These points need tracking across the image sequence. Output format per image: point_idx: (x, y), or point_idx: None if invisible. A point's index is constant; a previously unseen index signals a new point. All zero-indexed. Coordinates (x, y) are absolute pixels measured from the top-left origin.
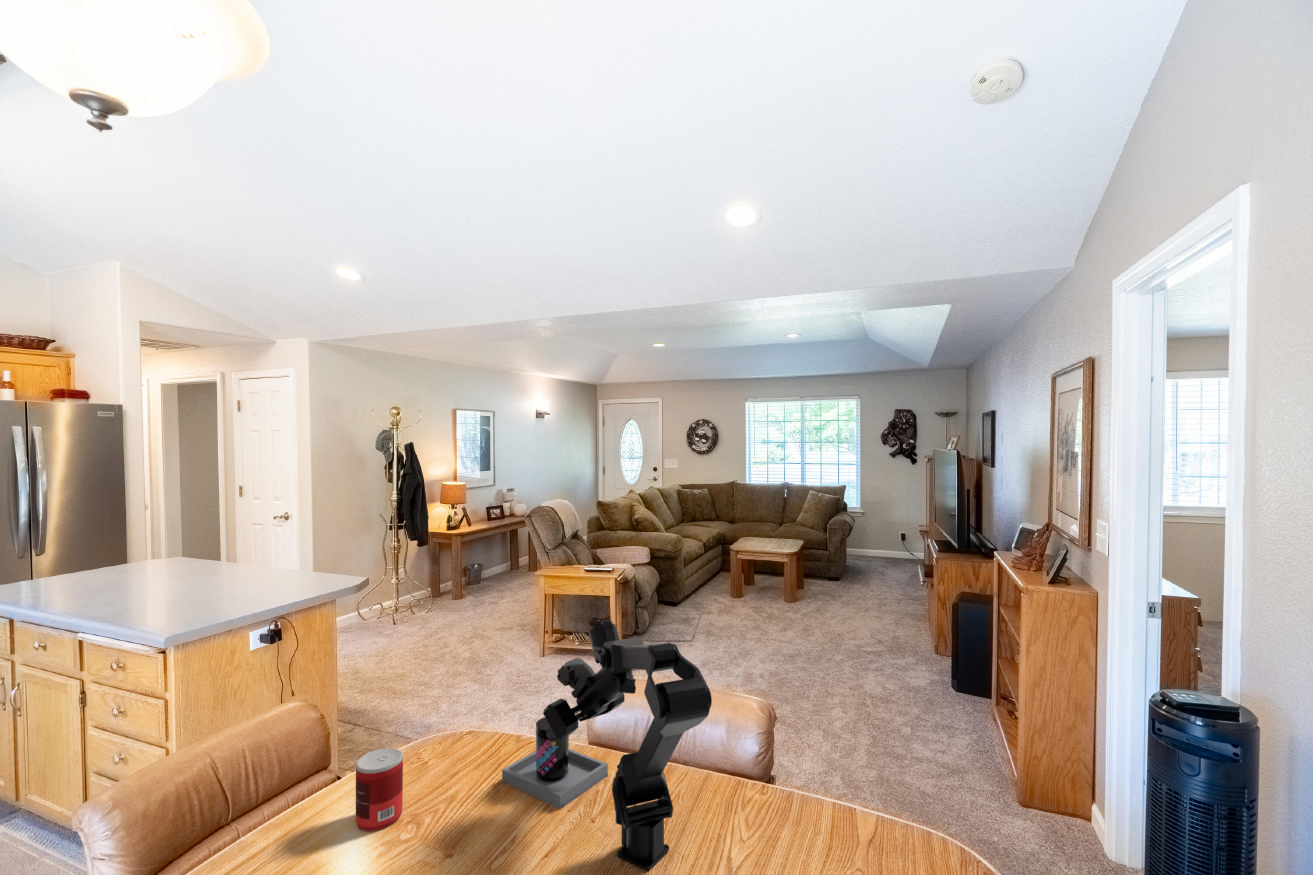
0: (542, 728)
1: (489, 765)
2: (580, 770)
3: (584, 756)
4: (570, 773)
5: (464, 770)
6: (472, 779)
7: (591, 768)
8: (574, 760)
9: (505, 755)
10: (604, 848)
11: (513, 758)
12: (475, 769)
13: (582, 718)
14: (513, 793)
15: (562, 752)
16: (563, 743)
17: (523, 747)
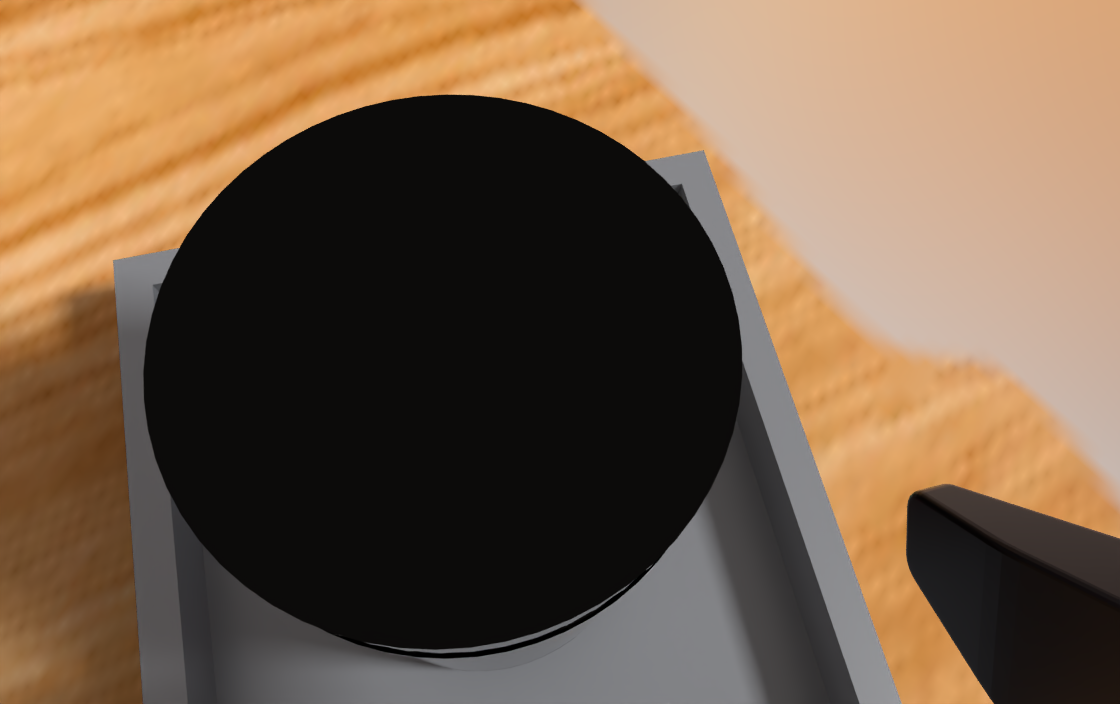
0: (186, 397)
1: (237, 65)
2: (716, 641)
3: (823, 567)
4: (614, 623)
5: (75, 16)
6: (33, 141)
7: (820, 684)
8: (754, 466)
9: (400, 27)
10: None
11: (420, 92)
12: (135, 49)
13: (966, 630)
14: (108, 510)
15: (482, 662)
16: (495, 655)
17: (561, 17)
